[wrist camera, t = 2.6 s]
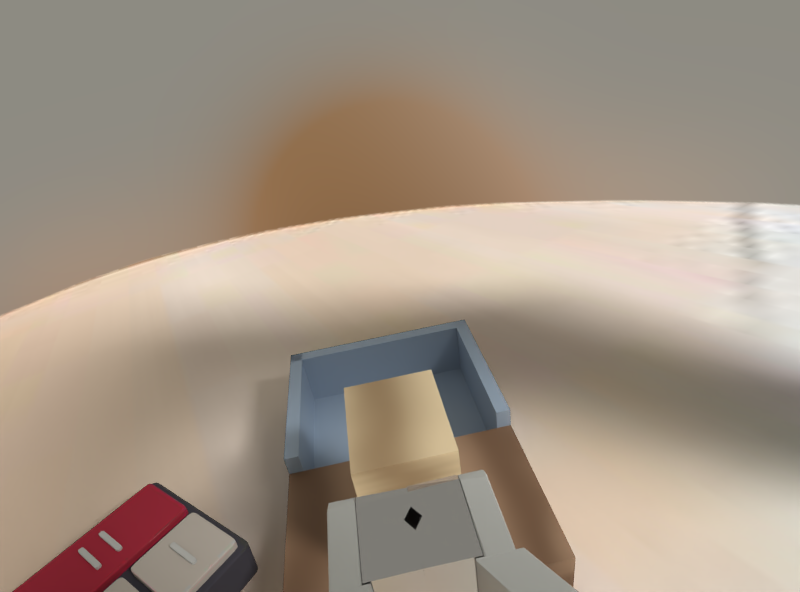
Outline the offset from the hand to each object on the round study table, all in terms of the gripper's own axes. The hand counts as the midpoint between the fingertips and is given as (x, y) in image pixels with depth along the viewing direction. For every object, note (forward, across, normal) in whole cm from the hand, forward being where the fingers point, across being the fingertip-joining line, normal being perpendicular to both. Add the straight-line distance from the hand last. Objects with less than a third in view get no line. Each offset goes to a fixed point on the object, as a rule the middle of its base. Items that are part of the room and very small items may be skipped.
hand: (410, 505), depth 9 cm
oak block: (+12, 0, +18) cm, 22 cm away
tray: (+24, 0, +22) cm, 33 cm away
